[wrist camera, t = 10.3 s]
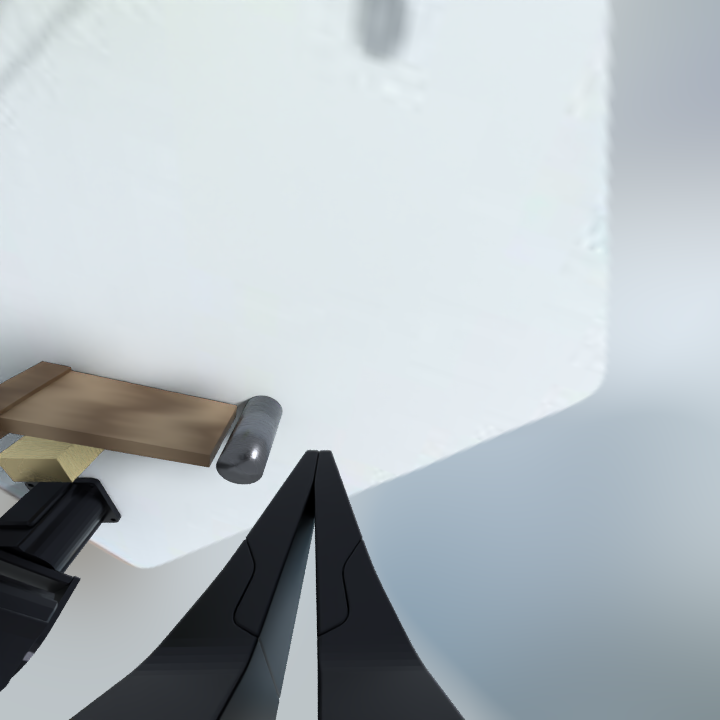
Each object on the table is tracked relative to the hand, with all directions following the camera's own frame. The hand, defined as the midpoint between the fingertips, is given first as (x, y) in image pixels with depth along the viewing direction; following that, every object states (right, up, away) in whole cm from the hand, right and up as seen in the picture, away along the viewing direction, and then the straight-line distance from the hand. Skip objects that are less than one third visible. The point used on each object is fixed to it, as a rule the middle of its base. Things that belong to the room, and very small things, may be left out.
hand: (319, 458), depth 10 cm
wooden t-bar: (-15, +1, +12) cm, 19 cm away
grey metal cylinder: (-7, -1, +14) cm, 16 cm away
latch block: (-21, -2, +14) cm, 26 cm away
